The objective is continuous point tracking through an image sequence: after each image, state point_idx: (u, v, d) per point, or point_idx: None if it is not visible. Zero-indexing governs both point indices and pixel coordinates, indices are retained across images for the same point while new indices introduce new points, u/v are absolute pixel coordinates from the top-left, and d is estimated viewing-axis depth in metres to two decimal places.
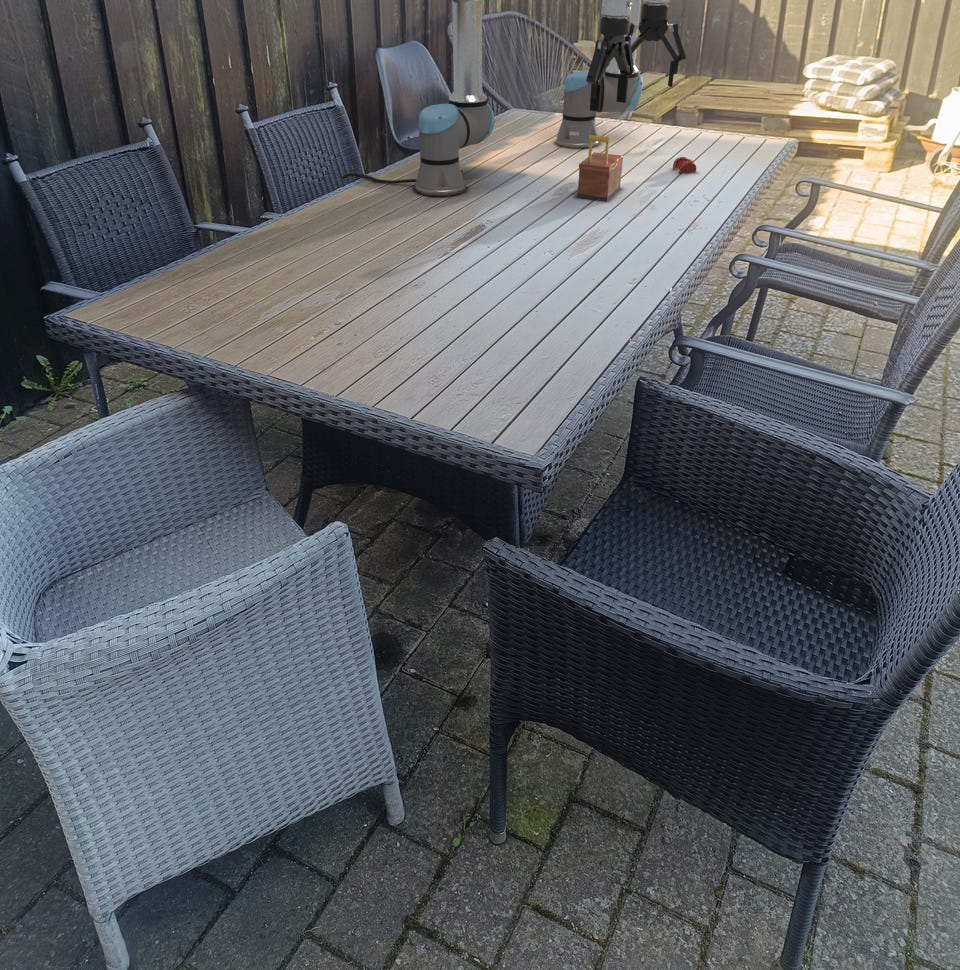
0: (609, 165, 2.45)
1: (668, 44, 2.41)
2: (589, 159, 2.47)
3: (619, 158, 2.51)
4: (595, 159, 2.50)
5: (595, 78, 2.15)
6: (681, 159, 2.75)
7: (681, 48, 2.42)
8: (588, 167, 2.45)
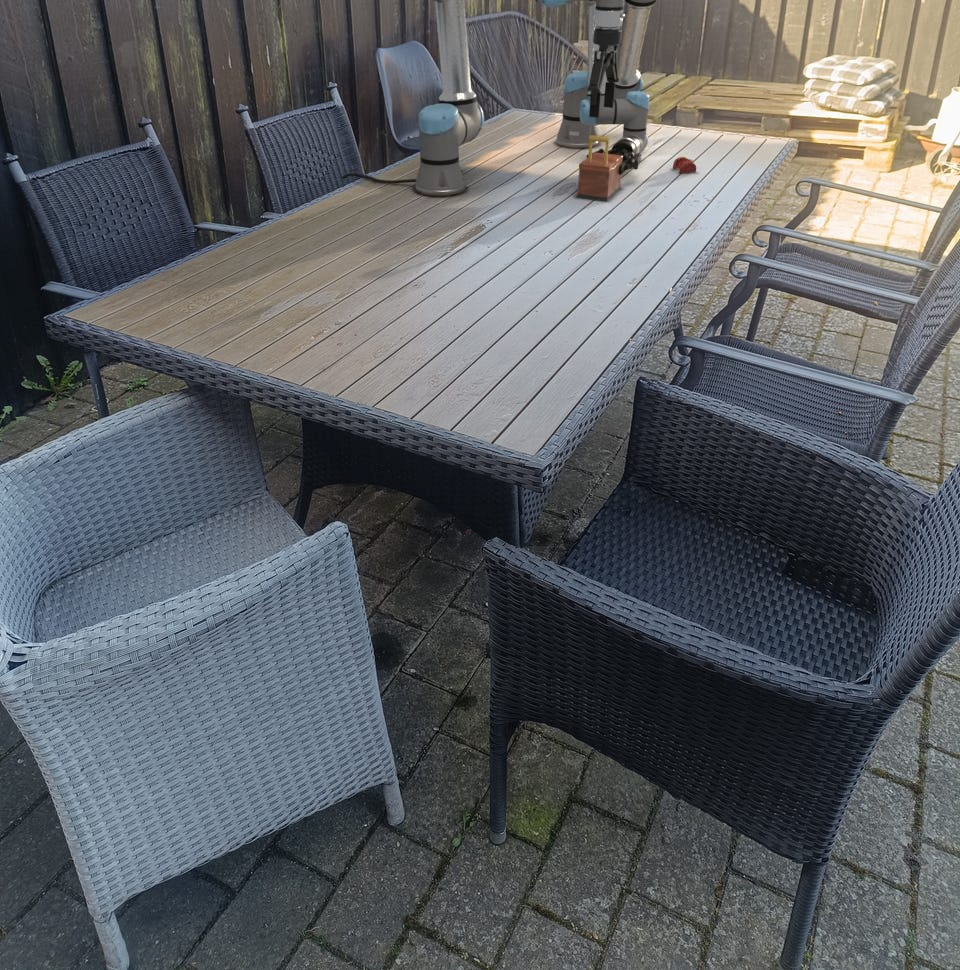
0: (609, 165, 2.45)
1: None
2: (589, 159, 2.47)
3: (619, 158, 2.51)
4: (595, 159, 2.50)
5: (597, 86, 2.26)
6: (681, 159, 2.75)
7: None
8: (588, 167, 2.45)
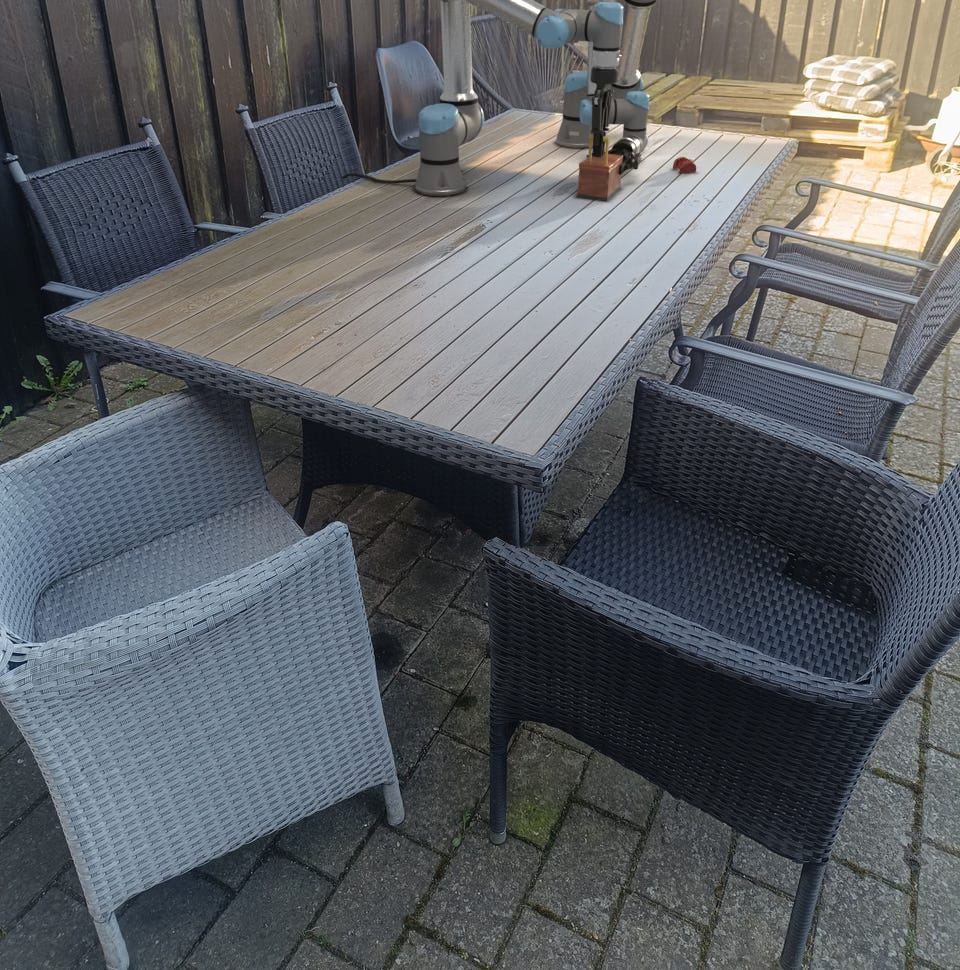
0: (609, 165, 2.45)
1: None
2: (589, 159, 2.47)
3: (619, 158, 2.51)
4: (595, 159, 2.50)
5: (599, 129, 2.38)
6: (681, 159, 2.75)
7: None
8: (588, 167, 2.45)
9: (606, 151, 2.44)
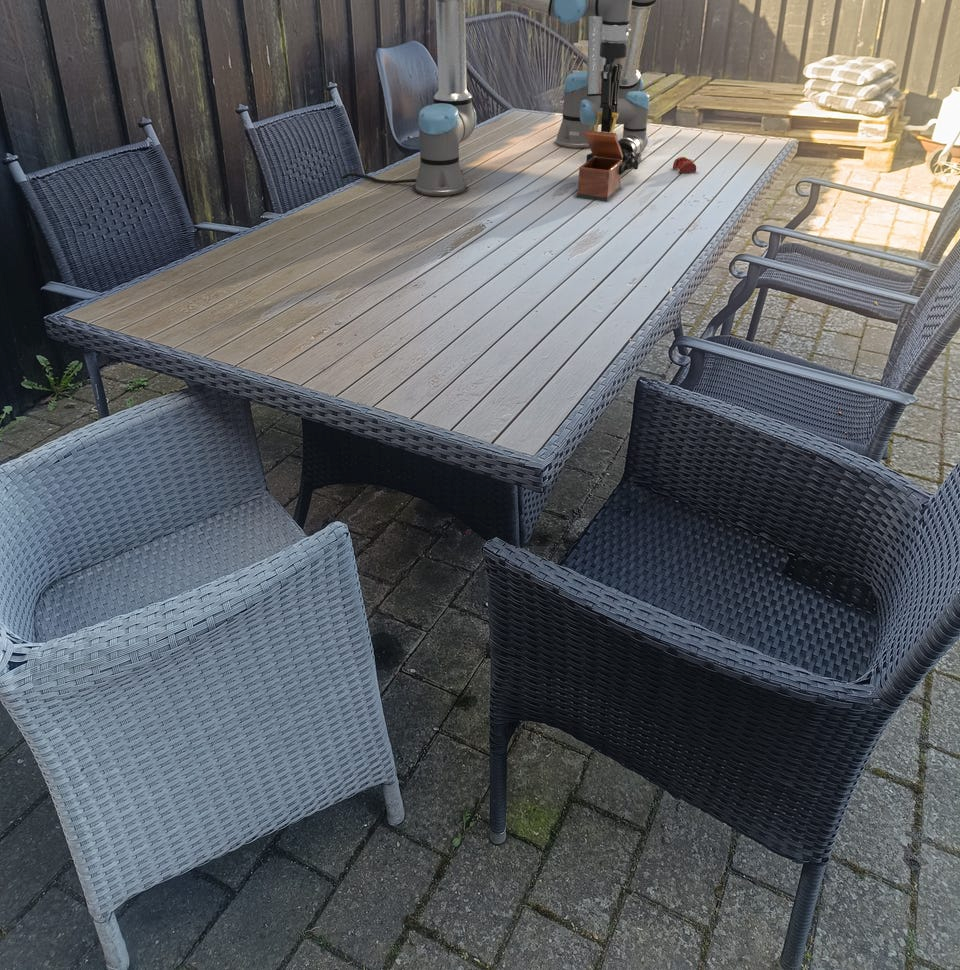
0: None
1: None
2: None
3: (621, 150, 2.50)
4: None
5: (609, 104, 2.39)
6: (681, 159, 2.75)
7: None
8: (594, 133, 2.43)
9: (613, 125, 2.44)
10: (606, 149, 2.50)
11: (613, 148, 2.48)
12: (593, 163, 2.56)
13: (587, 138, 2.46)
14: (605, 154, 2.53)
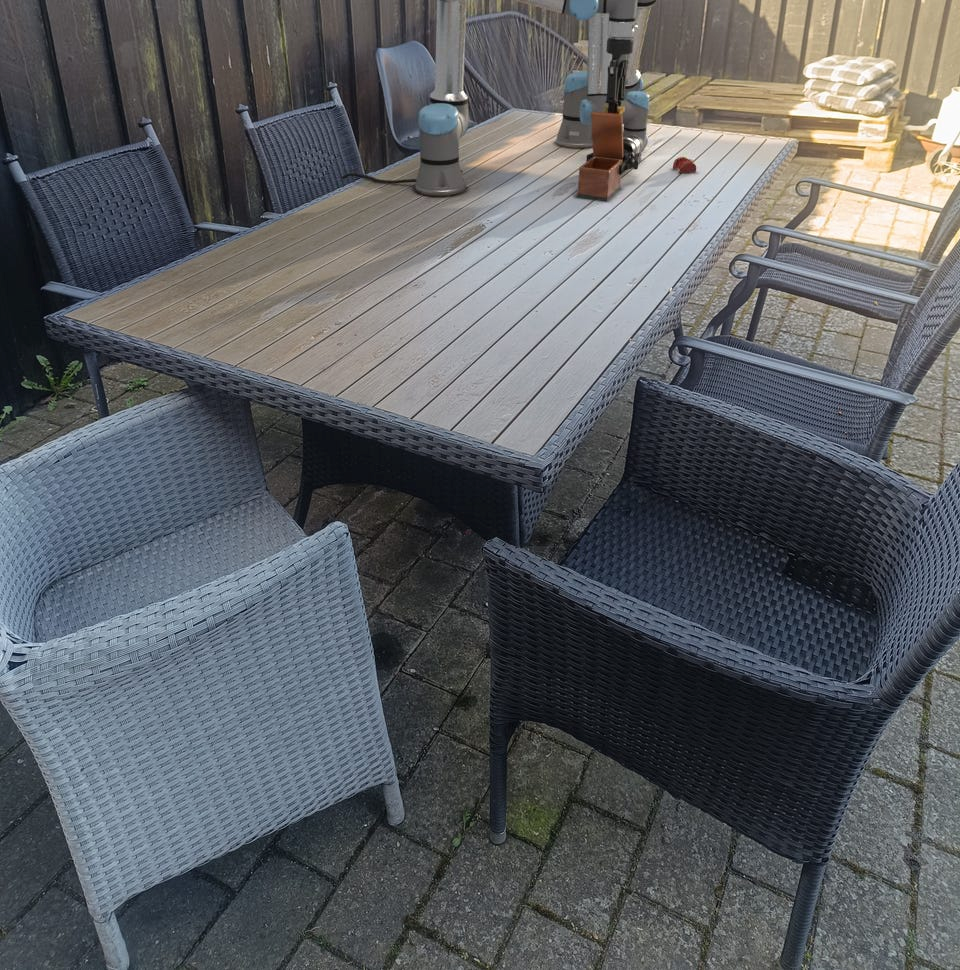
0: None
1: None
2: None
3: None
4: None
5: (614, 99, 2.44)
6: (681, 159, 2.75)
7: None
8: (600, 113, 2.44)
9: None
10: (608, 141, 2.50)
11: (616, 138, 2.48)
12: (593, 163, 2.56)
13: (592, 122, 2.47)
14: (606, 150, 2.53)
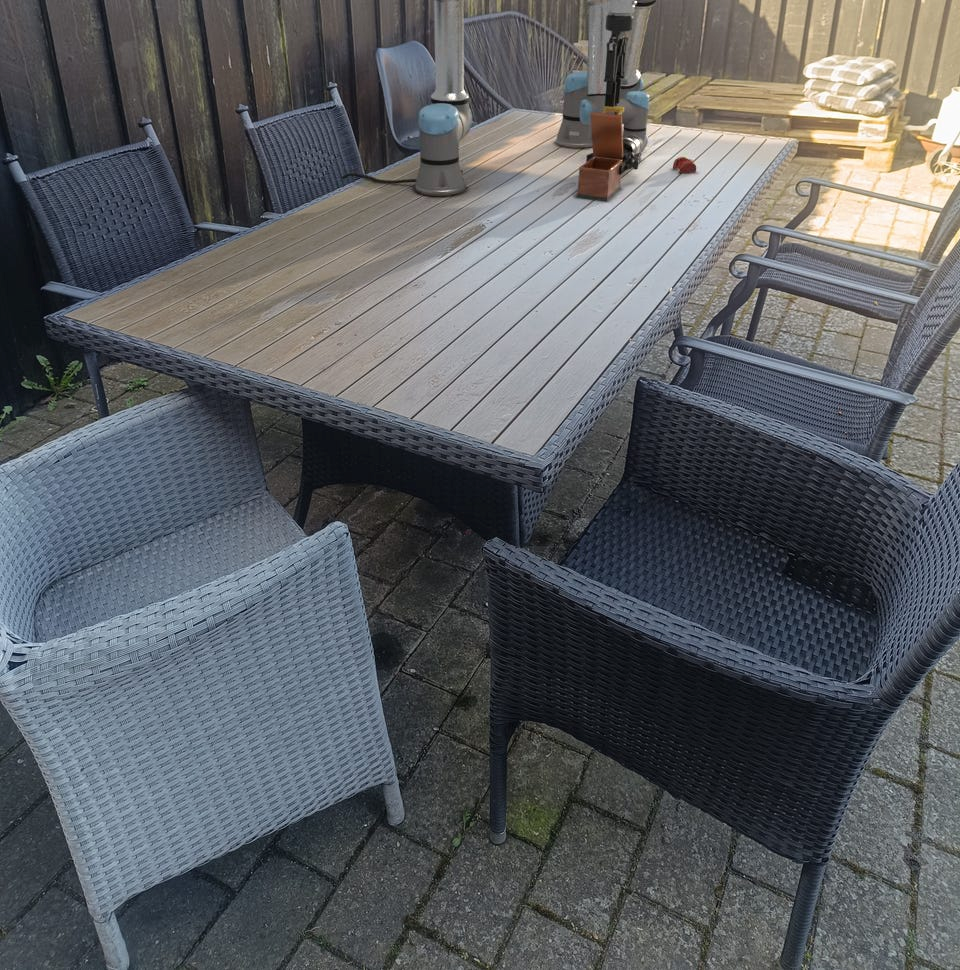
0: None
1: None
2: None
3: (622, 145, 2.51)
4: None
5: (613, 77, 2.38)
6: (681, 159, 2.75)
7: None
8: (600, 114, 2.44)
9: None
10: (608, 141, 2.50)
11: (616, 138, 2.48)
12: (593, 163, 2.56)
13: (592, 122, 2.47)
14: (606, 150, 2.53)
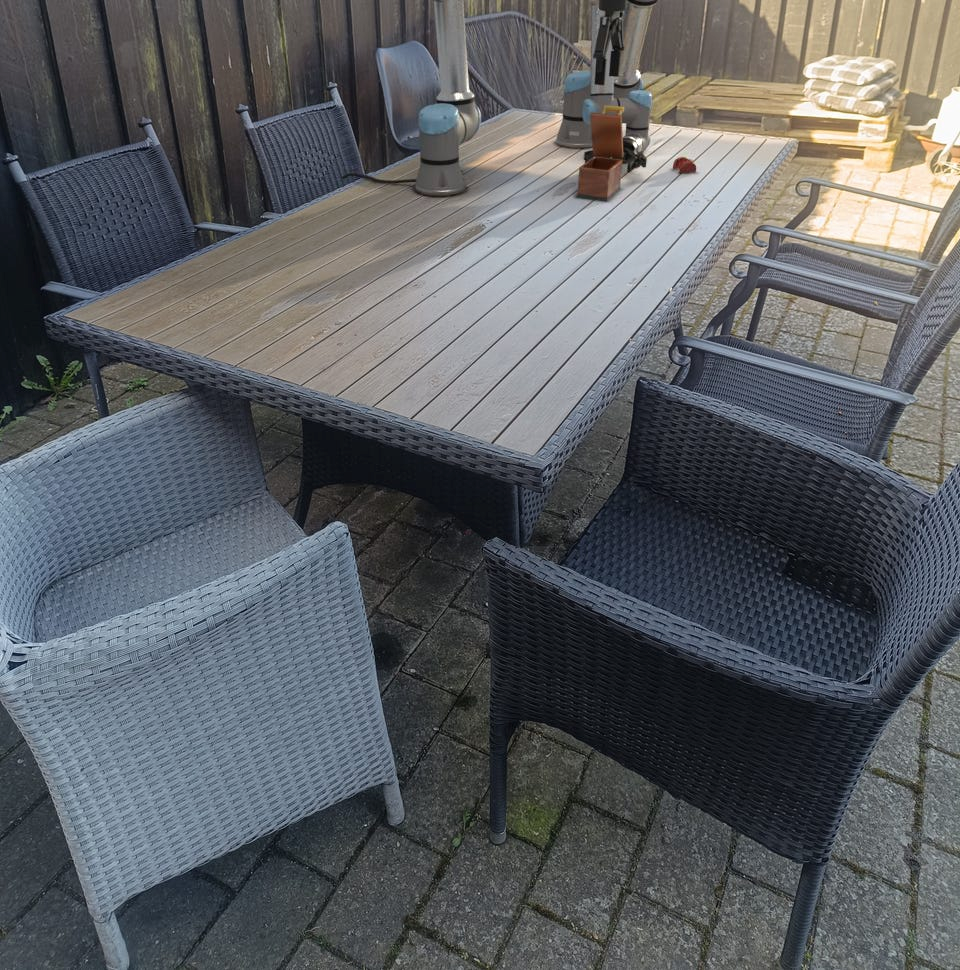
0: None
1: None
2: None
3: (622, 145, 2.51)
4: None
5: (603, 53, 2.24)
6: (681, 159, 2.75)
7: None
8: (600, 114, 2.44)
9: None
10: (608, 141, 2.50)
11: (615, 138, 2.48)
12: (593, 163, 2.56)
13: (592, 123, 2.47)
14: (606, 150, 2.53)
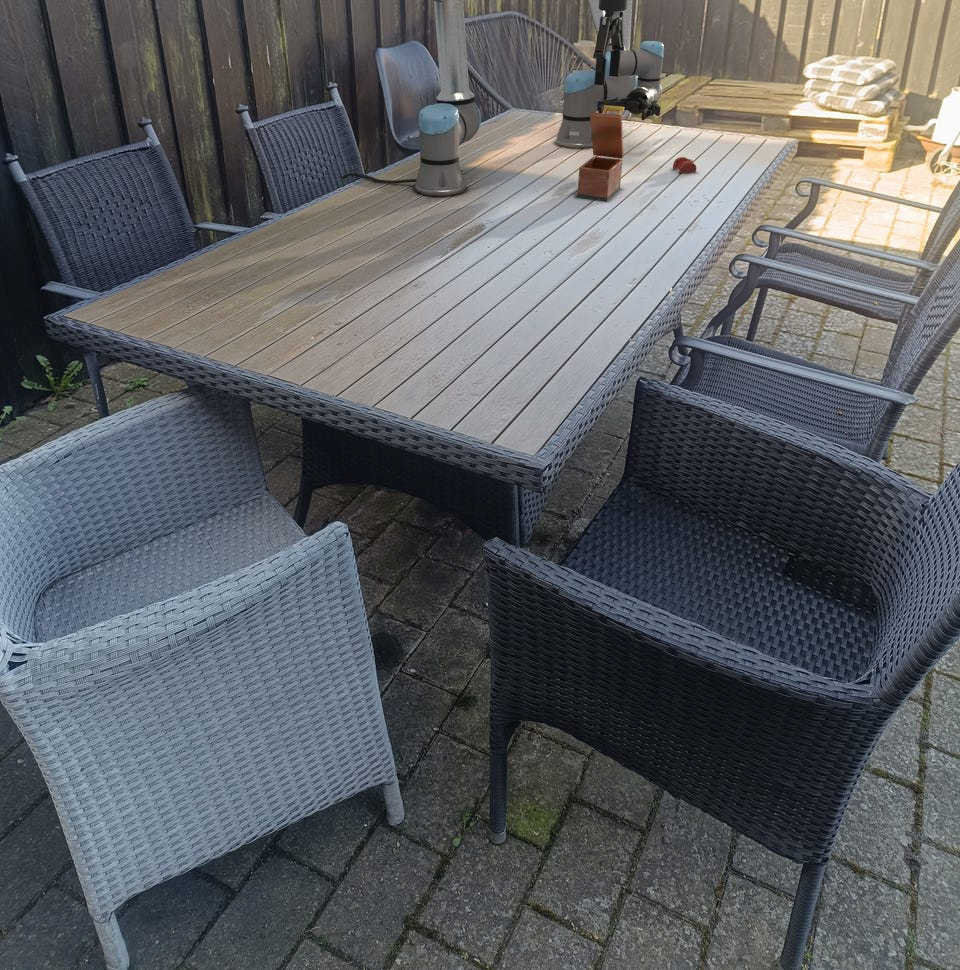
0: None
1: None
2: None
3: (622, 145, 2.51)
4: None
5: (603, 53, 2.24)
6: (681, 159, 2.75)
7: None
8: (600, 114, 2.44)
9: None
10: (608, 141, 2.50)
11: (615, 138, 2.48)
12: (593, 163, 2.56)
13: (592, 123, 2.47)
14: (606, 150, 2.53)
